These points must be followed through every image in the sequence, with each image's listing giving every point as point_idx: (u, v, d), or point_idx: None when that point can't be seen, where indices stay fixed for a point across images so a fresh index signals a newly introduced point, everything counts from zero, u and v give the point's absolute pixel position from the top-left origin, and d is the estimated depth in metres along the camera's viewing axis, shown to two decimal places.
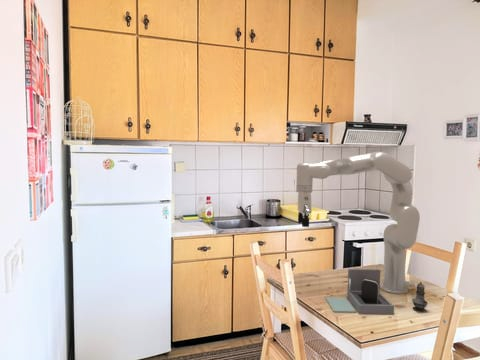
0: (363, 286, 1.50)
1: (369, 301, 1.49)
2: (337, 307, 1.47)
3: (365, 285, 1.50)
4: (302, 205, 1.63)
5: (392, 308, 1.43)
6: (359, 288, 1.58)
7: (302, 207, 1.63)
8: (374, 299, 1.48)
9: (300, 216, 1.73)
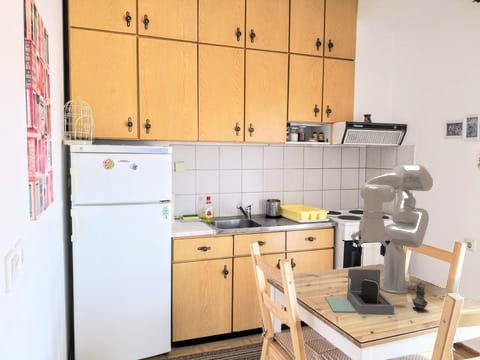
0: (363, 286, 1.50)
1: (369, 301, 1.49)
2: (337, 307, 1.47)
3: (365, 285, 1.50)
4: (384, 233, 1.47)
5: (392, 308, 1.43)
6: (359, 288, 1.58)
7: (384, 235, 1.47)
8: (374, 299, 1.48)
9: None
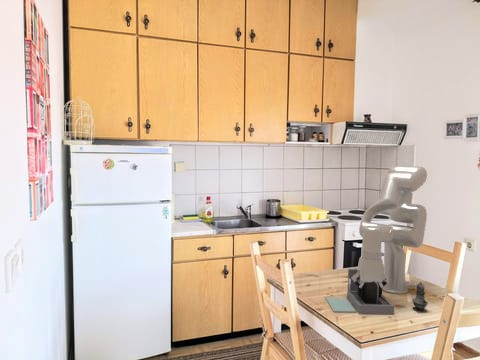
0: (363, 286, 1.50)
1: (369, 301, 1.49)
2: (337, 307, 1.47)
3: (365, 285, 1.50)
4: (383, 273, 1.48)
5: (392, 308, 1.43)
6: None
7: (383, 275, 1.48)
8: (373, 299, 1.48)
9: None
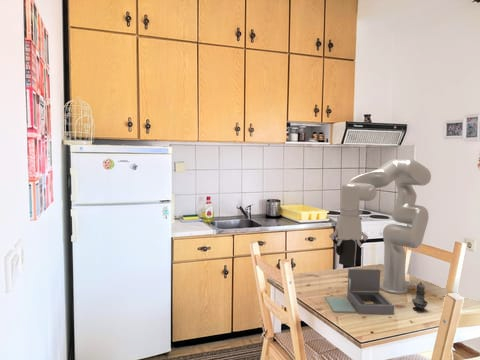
0: (341, 244, 1.49)
1: (346, 259, 1.48)
2: (337, 307, 1.47)
3: (343, 243, 1.48)
4: (361, 231, 1.47)
5: (392, 308, 1.43)
6: (359, 288, 1.58)
7: (361, 233, 1.47)
8: (351, 257, 1.47)
9: None
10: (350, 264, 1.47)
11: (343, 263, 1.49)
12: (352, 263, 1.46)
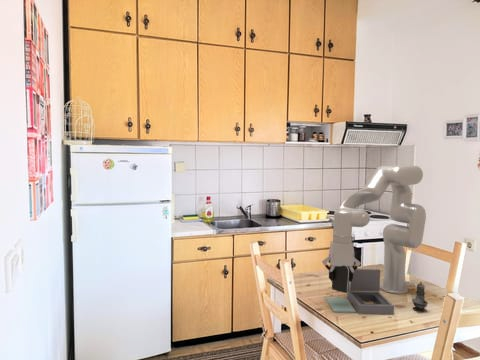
0: (334, 270, 1.50)
1: (339, 285, 1.49)
2: (337, 307, 1.47)
3: (336, 269, 1.49)
4: None
5: (392, 308, 1.43)
6: (359, 288, 1.58)
7: (354, 259, 1.48)
8: (344, 283, 1.47)
9: None
10: (343, 290, 1.48)
11: (336, 289, 1.50)
12: (345, 289, 1.47)
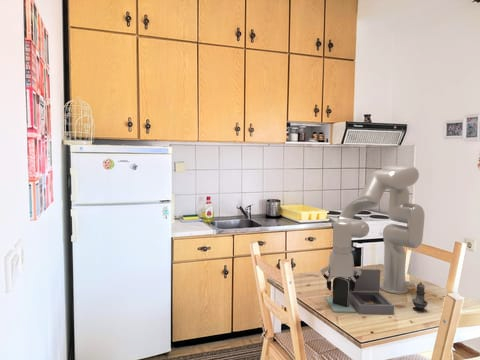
0: (334, 284, 1.50)
1: (340, 299, 1.49)
2: (337, 307, 1.47)
3: (336, 283, 1.50)
4: (353, 268, 1.48)
5: (392, 308, 1.43)
6: (359, 288, 1.58)
7: (353, 270, 1.48)
8: (344, 297, 1.48)
9: None
10: (343, 304, 1.48)
11: (336, 302, 1.50)
12: (345, 303, 1.48)
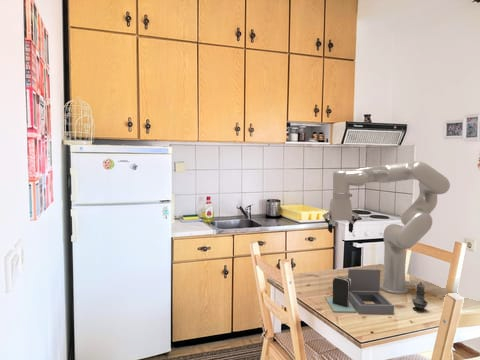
0: (334, 284, 1.50)
1: (340, 299, 1.49)
2: (337, 307, 1.47)
3: (336, 283, 1.50)
4: (351, 212, 1.67)
5: (392, 308, 1.43)
6: (359, 288, 1.58)
7: (352, 213, 1.67)
8: (344, 297, 1.48)
9: None
10: (343, 304, 1.48)
11: (336, 302, 1.50)
12: (345, 303, 1.48)
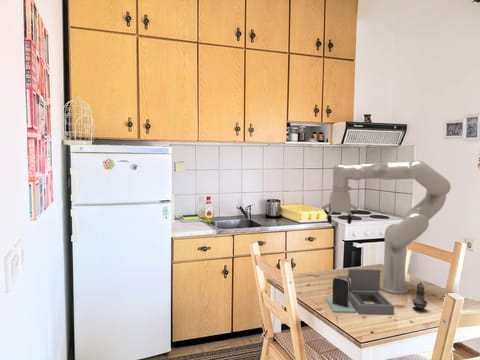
0: (334, 284, 1.50)
1: (340, 299, 1.49)
2: (337, 307, 1.47)
3: (336, 283, 1.50)
4: (350, 204, 1.75)
5: (392, 308, 1.43)
6: (359, 288, 1.58)
7: (350, 206, 1.75)
8: (344, 297, 1.48)
9: None
10: (343, 304, 1.48)
11: (336, 302, 1.50)
12: (345, 303, 1.48)
